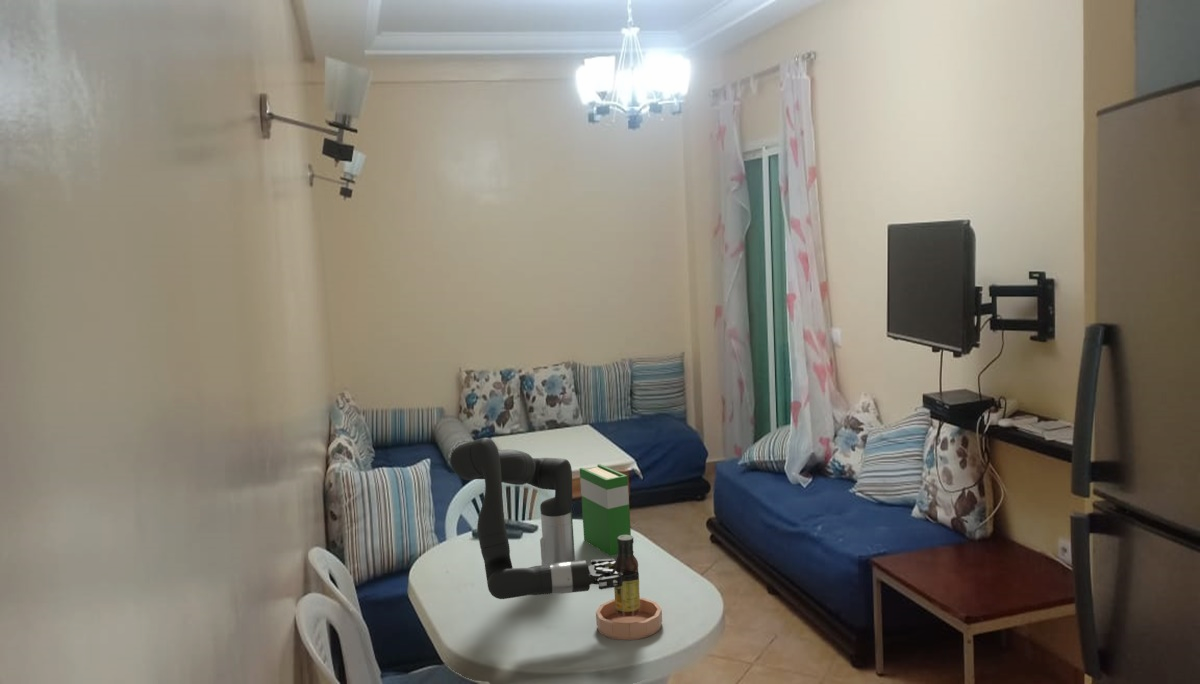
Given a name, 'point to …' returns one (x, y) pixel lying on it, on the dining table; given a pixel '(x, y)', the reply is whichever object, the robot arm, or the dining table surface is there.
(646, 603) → the terracotta bowl
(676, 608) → the dining table surface
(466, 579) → the dining table surface
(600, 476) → the hardback book
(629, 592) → the sauce bottle
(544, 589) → the robot arm
